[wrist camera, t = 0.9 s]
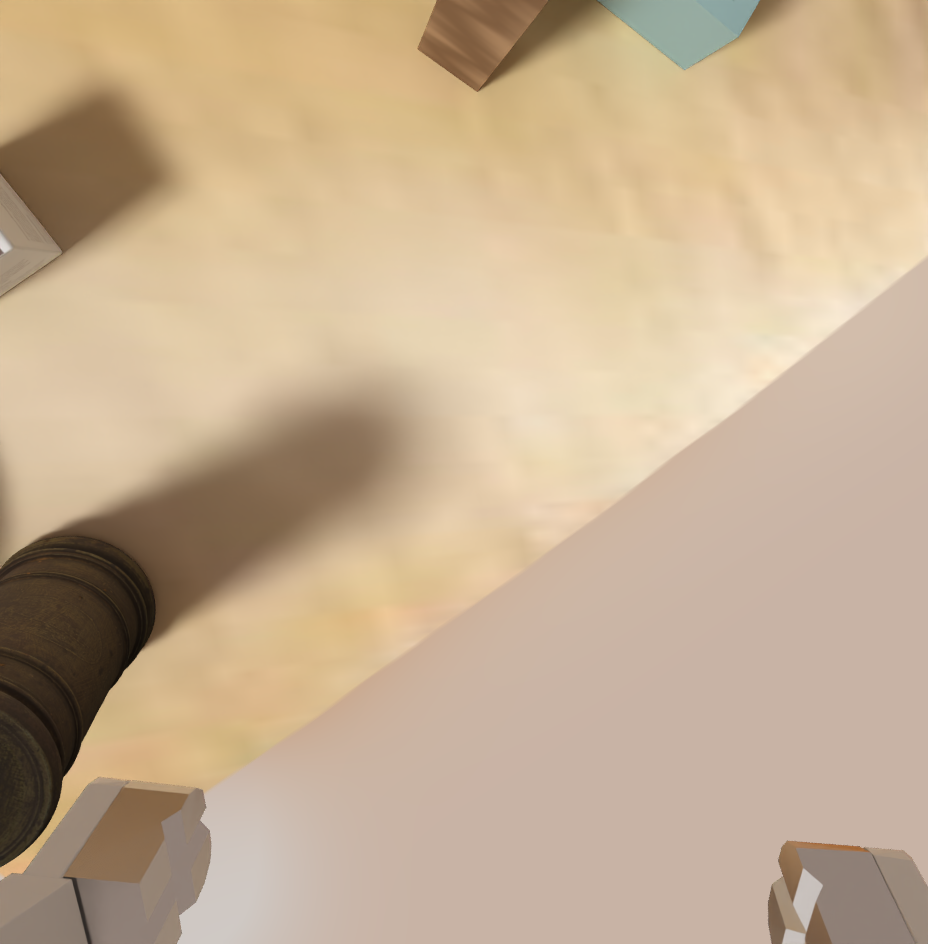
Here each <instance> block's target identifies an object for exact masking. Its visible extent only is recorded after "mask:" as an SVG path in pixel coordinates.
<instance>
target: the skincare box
mask: <svg viewBox="0 0 928 944" xmlns="http://www.w3.org/2000/svg"><path fill="white" fill-rule="evenodd" d="M61 254H62V250H61V249H60V248H59V246H58V245H57V244H56V243H55V241H54V240H53V239H52V237H51V236H50V235H49V234H48V232H47V231H46V230H45V228H44V227H43V226H42V225H41V223H40V222H39V221H38V220H37V218H36V217H35V216H34V215H33V213H32V212H31V211H30V210H29V208H28V207H27V206H26V205H25V203H24V202H23V201H22V200H21V198H20V197H19V196H18V195H17V194H16V192H15V191H14V190H13V189H12V187H11V186H10V185H9V184H8V182H7V181H6V180H5V179H4V178H3V176H2V175H1V174H0V296H1V295H3V294H4V293H6V292H7V291H9V290H10V289H12V288H13V287H14V286H16V285H17V284H19V283H20V282H22V281H23V280H25V279H26V278H28V277H29V276H30V275H32V274H33V273H35V272H36V271H38V270H39V269H41V268H42V267H43V266H45V265H46V264H48V263H49V262H51V261H52V260H54V259H55V258H56V257H58V256H59V255H61Z"/></svg>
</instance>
